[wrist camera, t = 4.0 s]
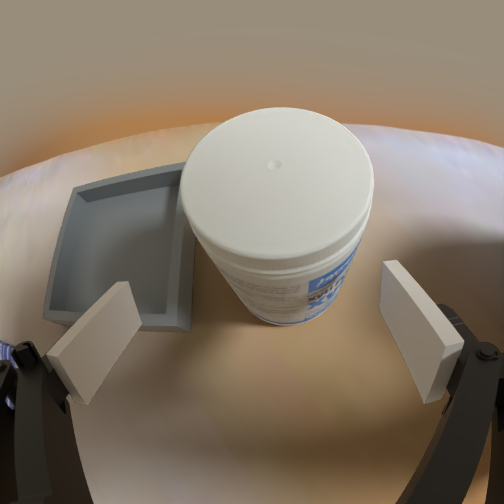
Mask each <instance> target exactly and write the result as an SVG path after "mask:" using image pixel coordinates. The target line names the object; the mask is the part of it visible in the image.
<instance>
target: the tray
mask: <svg viewBox="0 0 504 504" xmlns="http://www.w3.org/2000/svg"><path fill="white" fill-rule="evenodd" d="M185 163H186V162H182V163H177V164H171V165H166V166H161V167H156V168H151V169H146V170H142V171H137V172H133V173H128V174H124V175H120V176H116V177H112V178H108V179H104V180H100V181H96V182H92V183H89V184H85V185H82V186H78V187H75V188H73V191H72V194H71V197H70V200H69V203H68V206H67V209H66V212H65V215H64V219H63V222H62V226H61V229H60V233H59V236H58V240H57V244H56V248H55V252H54V257H53V261H52V266H51V270H50V275H49V281H48V286H47V292H46V298H45V304H44V312H43V319H46V320H49V321H52V322H55V323H58V324H61V325H68V326H73V325H74V324H75V323H76V322H77V321H78V320H79V319H80V318H81V317H82V316H83V315H84V314H85V313H86V312H87V311H88V310H89V309H90V308H91V307H92V306H93V305H94V304H95V303H96V302H97V301H98V300H99V299H100V298H101V297H102V296H103V295H104V294H105V293H106V292H107V291H108V290H109V289H110V288H111V287H112V286H113V285H114V284H115V283H116V282H123V281H128V282H129V286H130V289H131V292H132V295H133V298H134V301H135V304H136V307H137V310H138V313H139V316H140V319H141V322H142V325H141V326H140V328H139V329H138V331H160V332H191V312H192V290H193V271H194V255H195V241H196V236H195V234H194V232H193V230H192V228H191V226H190V223H189V220H188V218H187V216H186V214H185V212H184V209H183V206H182V203H181V197H180V180H181V175H182V171H183V168H184V165H185Z"/></svg>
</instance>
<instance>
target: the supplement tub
mask: <svg viewBox="0 0 504 504" xmlns="http://www.w3.org/2000/svg"><path fill="white" fill-rule="evenodd" d="M373 190H374V173H373V168H372V164H371V161H370V158H369V156H368V154H367V152H366V150H365V148H364V147H363V145H362V144H361V143H360V141H359V140H358V139H357V138H356V137H355V136H354V135H353V134H352V133H351V132H350V131H349V130H348V129H347V128H345V127H344V126H342V125H341V124H340V123H338V122H336V121H334V120H333V119H331V118H329V117H326V116H324V115H321V114H319V113H315V112H312V111H308V110H303V109H297V108H266V109H259V110H255V111H251V112H247V113H244V114H242V115H239V116H236V117H234V118H232V119H230V120H228V121H226V122H224V123H222V124H220V125H219V126H217V127H216V128H214V129H213V130H212V131H210V132H209V133H208V134H207V135H206V136H205V137H204V138H202V139H201V141H200V142H199V143H198V144H197V145H196V146H195V148H194V149H193V150H192V152H191V153H190V155H189V157H188V159H187V161H186V163H185V165H184V168H183V171H182V175H181V180H180V197H181V203H182V206H183V209H184V212H185V214H186V216H187V218H188V220H189V223H190V226H191V228H192V230H193V232H194V234H195V236H196V237H197V239H198V241H199V242H200V244H201V245H202V247H203V248H204V250H205V251H206V253H207V254H208V256H209V257H210V258H211V260H212V261H213V263H214V264H215V265H216V267H217V268H218V270H219V271H220V272H221V274H222V275H223V277H224V278H225V279H226V281H227V282H228V283H229V285H230V286H231V288H232V289H233V290H234V292H235V293H236V294H237V296H238V297H239V299H240V300H241V301H242V303H243V304H244V305H245V306H246V307H247V309H248V310H249V311H250V312H251V313H253V314H254V315H255V316H257V317H258V318H260V319H262V320H263V321H266V322H268V323H272V324H275V325H282V326H292V325H299V324H303V323H306V322H309V321H311V320H313V319H315V318H317V317H318V316H320V315H321V314H322V313H323V312H325V311H326V310H327V309H328V308H329V307H330V305H331V304H332V303H333V301H334V300H335V298H336V296H337V294H338V292H339V290H340V287H341V285H342V283H343V281H344V278H345V276H346V274H347V271H348V269H349V267H350V264H351V262H352V260H353V257H354V255H355V252H356V250H357V248H358V245H359V243H360V240H361V237H362V235H363V232H364V229H365V226H366V223H367V221H368V217H369V214H370V210H371V204H372V196H373Z"/></svg>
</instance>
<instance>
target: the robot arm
mask: <svg viewBox="0 0 504 504" xmlns="http://www.w3.org/2000/svg"><path fill="white" fill-rule="evenodd" d="M379 311H380V313H381V315H382V316H383V318H384V320H385V322H386V324H387V326H388V328H389V330H390V332H391V334H392V336H393V338H394V340H395V342H396V344H397V346H398V348H399V350H400V352H401V354H402V356H403V358H404V360H405V362H406V365H407V367H408V369H409V371H410V373H411V375H412V378H413V380H414V382H415V384H416V386H417V389H418V391H419V393H420V396H421V398H422V400H423V403H424V404H427V403H431V402H434V401H437V400H441V399H442V397H443V395H444V393H445V391H446V388H447V390H448V392H449V394H450V398H449V400H448V402H447V404H446V406H445V408H444V410H443V412H442V414H443V415H442V417H441V420H440V422H439V424H438V427H437V429H436V431H435V434H434V436H433V438H432V440H431V442H430V444H429V446H428V448H427V450H426V452H425V454H424V456H423V458H422V460H421V462H420V464H419V466H418V467H417V469H416V471H415V473H414V475H413V476H412V478H411V480H410V481H409V483H408V485H407V486H406V488H405V490H404V491H403V493H402V494H401V496H400V497H399V499H398V501H397V502H396V504H462V502H463V500H464V498H465V496H466V493H467V491H468V489H469V486H470V484H471V481H472V479H473V476H474V474H475V471H476V468H477V466H478V463H479V460H480V457H481V454H482V451H483V448H484V444H485V441H486V437H487V434H488V430H489V426H490V422H491V418H492V444H491V461H490V472H489V481H488V488H487V495H486V501H485V504H504V353H501V352H500V351H499V349H498V348H497V347H496V346H494V345H493V344H490V343H488V342H479V341H478V340H477V338H476V337H475V336H474V335H473V333H472V332H471V331H470V330H469V328H468V327H467V326H466V325H465V324H463V321H462V320H461V319H460V318H458V315H457V314H456V313H455V312H454V311H453V309H451V308H450V307H448V306H446V305H444V304H439V305H436V304H435V303H434V302H433V301H432V299H431V298H430V297H429V296H428V295H427V293H426V292H425V291H424V290H423V289H422V288H421V286H420V285H419V284H418V283H417V282H416V281H415V280H414V278H413V277H412V276H411V275H410V274H409V273H408V272H407V271H406V269H405V268H404V267H403V266H402V265H401V264H400V263H399V262H398V261H397V260H390V261H383V265H382V281H381V293H380V304H379ZM141 325H142V322H141V319H140V316H139V313H138V310H137V307H136V304H135V301H134V298H133V295H132V292H131V289H130V286H129V282H128V281H123V282H116V283H115V284H114V285H113V286H112V287H111V288H110V289H109V290H108V291H107V292H106V293H105V294H104V295H103V296H102V297H101V298H100V299H99V300H98V301H97V302H96V303H95V304H94V305H93V306H92V307H91V308H90V309H89V310H88V311H87V312H86V313H85V314H84V315H83V316H82V317H81V318H80V319H79V320H78V321H77V322H76V323H75V324H74V325H73V326H72V327H71V328H70V329H69V330H67V331H66V333H65V334H64V335H63V336H62V337H61V338H60V339H59V340H58V341H57V343H55V344H54V345H53V346H52V347H51V348H50V350H49V351H48V352H47V353H46V354H45V355H44V356H43V357H42V358H41V357H40V355H39V353H38V351H37V350H36V348H35V346H34V344H33V343H32V342H31V341H26V342H22V343H20V344H18V345H17V346H16V347H14V349H13V350H12V351H11V353H10V354H11V356H12V358H13V359H14V361H15V363H16V365H17V366H18V368H14V367H13V365H12V363H11V361H10V360H8V359H5V360H0V504H94V503H93V500H92V498H91V495H90V492H89V488H88V485H87V482H86V479H85V475H84V472H83V468H82V464H81V460H80V456H79V452H78V448H77V444H76V439H75V434H74V429H73V424H72V418H71V412H70V405H69V402H68V400H67V399H66V397H67V395H68V394H70V395H71V397H72V398H73V400H74V401H75V403H79V404H82V405H86V406H88V404H89V403H90V401H91V400H92V398H93V397H94V395H95V393H96V392H97V390H98V389H99V387H100V386H101V384H102V383H103V381H104V380H105V378H106V376H107V375H108V373H109V372H110V370H111V369H112V367H113V366H114V364H115V363H116V361H117V360H118V358H119V357H120V355H121V354H122V352H123V351H124V349H125V348H126V347H127V345H128V344H129V342H130V341H131V339H132V338H133V336H134V335H135V333H136V332H137V331H138V329H139V328H140V326H141ZM6 397H7V398H8V399H9V400H10V402H11V403H12V404H13V408H12V409H11V408H10V407H9V406H8V404H7V403H6Z"/></svg>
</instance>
